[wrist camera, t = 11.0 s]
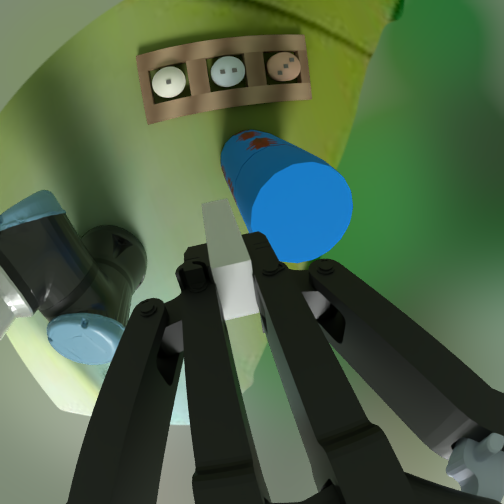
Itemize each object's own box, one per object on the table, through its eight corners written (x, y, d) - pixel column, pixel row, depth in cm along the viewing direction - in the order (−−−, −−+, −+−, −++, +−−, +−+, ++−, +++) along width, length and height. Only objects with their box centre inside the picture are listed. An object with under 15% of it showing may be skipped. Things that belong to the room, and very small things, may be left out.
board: (149, 123, 40) (147, 124, 38) (138, 57, 33) (135, 55, 32) (307, 99, 43) (311, 99, 41) (299, 36, 36) (304, 34, 35)
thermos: (211, 140, 44) (233, 181, 23) (271, 120, 44) (346, 146, 23) (230, 196, 50) (266, 279, 29) (286, 177, 50) (358, 243, 29)
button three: (267, 82, 40) (272, 81, 37) (263, 55, 37) (268, 52, 34) (295, 80, 40) (302, 79, 38) (292, 54, 38) (299, 51, 35)
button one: (157, 100, 38) (154, 100, 35) (152, 72, 35) (149, 70, 32) (187, 93, 38) (187, 93, 36) (183, 65, 36) (182, 63, 33)
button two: (212, 89, 39) (214, 88, 36) (208, 61, 36) (209, 58, 33) (243, 84, 39) (247, 83, 37) (239, 57, 37) (243, 54, 34)
